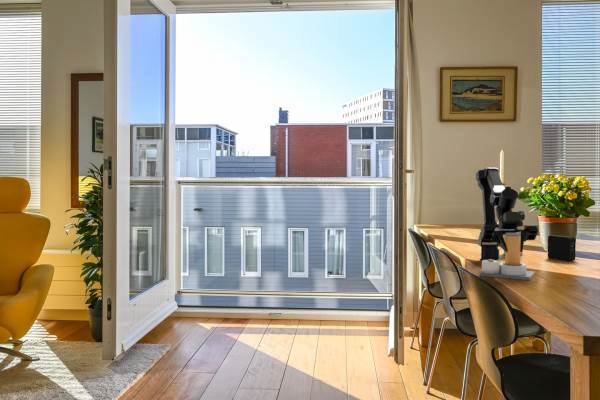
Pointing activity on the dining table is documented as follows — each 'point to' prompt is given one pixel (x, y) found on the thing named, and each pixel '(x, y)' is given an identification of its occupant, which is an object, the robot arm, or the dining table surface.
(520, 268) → the housing
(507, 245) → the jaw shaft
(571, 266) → the dining table surface
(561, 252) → the electronic device
